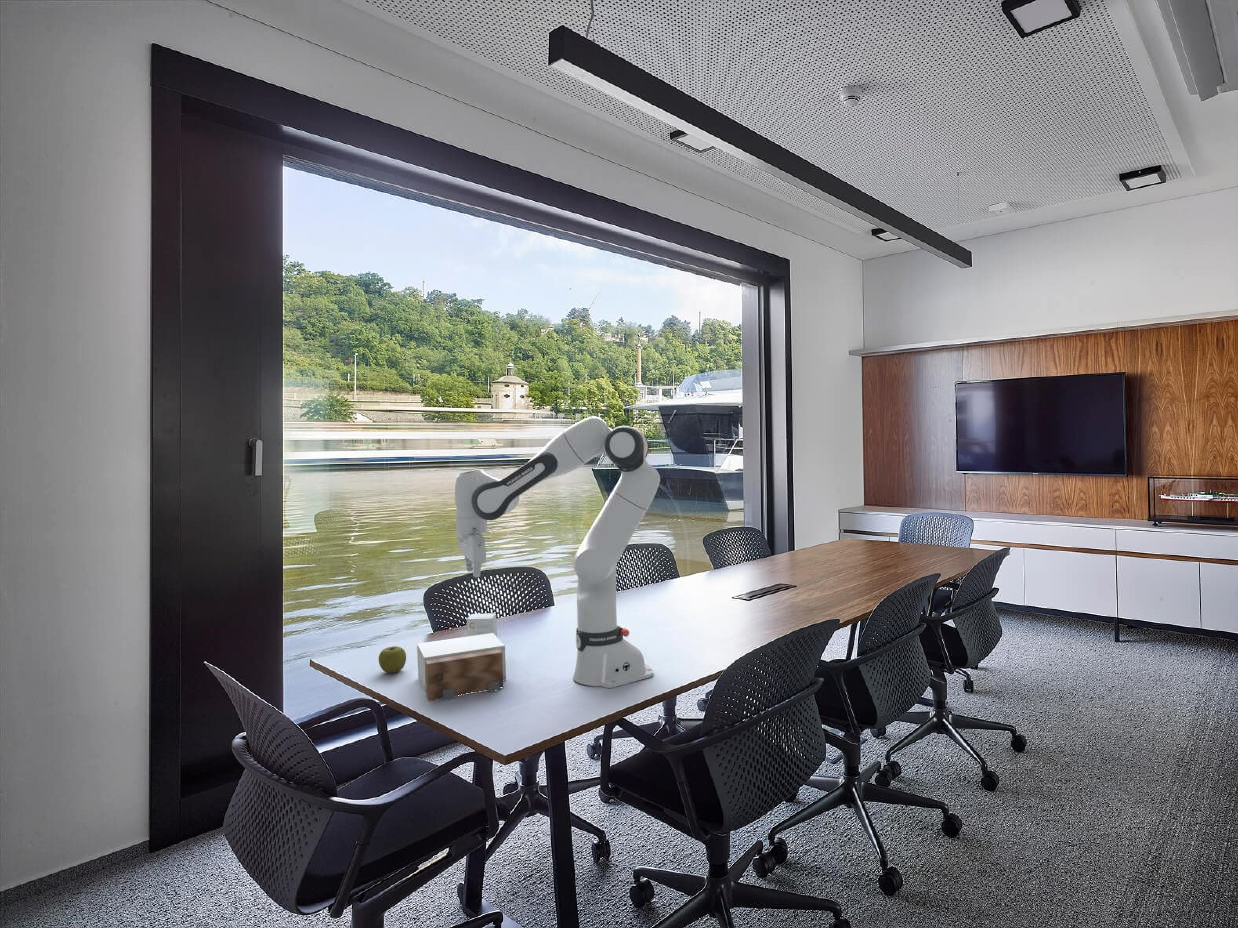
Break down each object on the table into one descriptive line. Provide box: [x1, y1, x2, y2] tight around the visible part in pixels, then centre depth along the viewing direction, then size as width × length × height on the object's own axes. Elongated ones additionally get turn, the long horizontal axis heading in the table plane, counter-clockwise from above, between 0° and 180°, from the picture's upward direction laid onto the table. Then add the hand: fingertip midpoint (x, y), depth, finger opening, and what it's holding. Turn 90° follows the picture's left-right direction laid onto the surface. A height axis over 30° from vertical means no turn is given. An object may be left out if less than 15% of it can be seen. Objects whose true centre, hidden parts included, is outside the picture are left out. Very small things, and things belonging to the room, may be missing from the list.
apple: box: [378, 645, 407, 674], centre depth 208 cm, size 8×8×7 cm
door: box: [425, 649, 504, 702], centre depth 189 cm, size 20×4×10 cm, turn 114°
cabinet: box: [416, 633, 507, 701], centre depth 197 cm, size 22×21×10 cm
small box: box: [466, 613, 498, 638], centre depth 219 cm, size 8×6×13 cm
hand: (473, 574), depth 203 cm, fingers open, 8 cm apart
